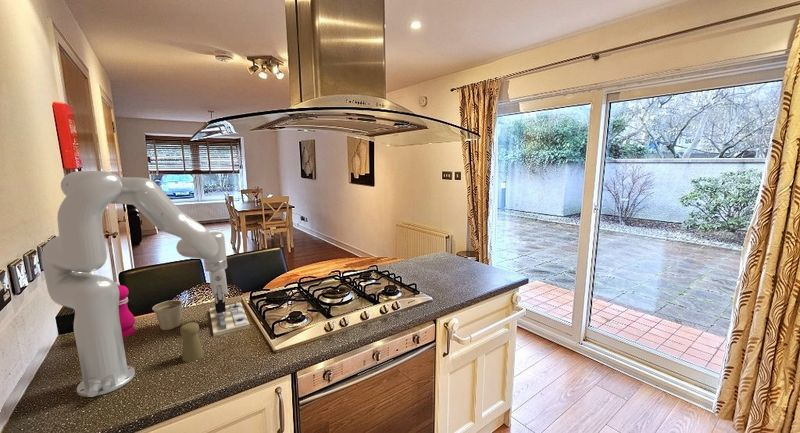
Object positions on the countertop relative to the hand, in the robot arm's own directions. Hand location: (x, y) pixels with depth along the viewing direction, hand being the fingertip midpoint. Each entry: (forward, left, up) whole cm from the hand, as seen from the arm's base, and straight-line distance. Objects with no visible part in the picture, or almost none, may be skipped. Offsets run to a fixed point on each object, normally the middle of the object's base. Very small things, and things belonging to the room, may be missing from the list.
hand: (220, 309), depth 132 cm
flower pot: (+6, +17, -5) cm, 19 cm away
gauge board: (+1, -2, -5) cm, 5 cm away
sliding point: (0, -2, -3) cm, 4 cm away
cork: (-22, +10, -5) cm, 24 cm away
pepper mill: (+8, +31, -5) cm, 32 cm away
